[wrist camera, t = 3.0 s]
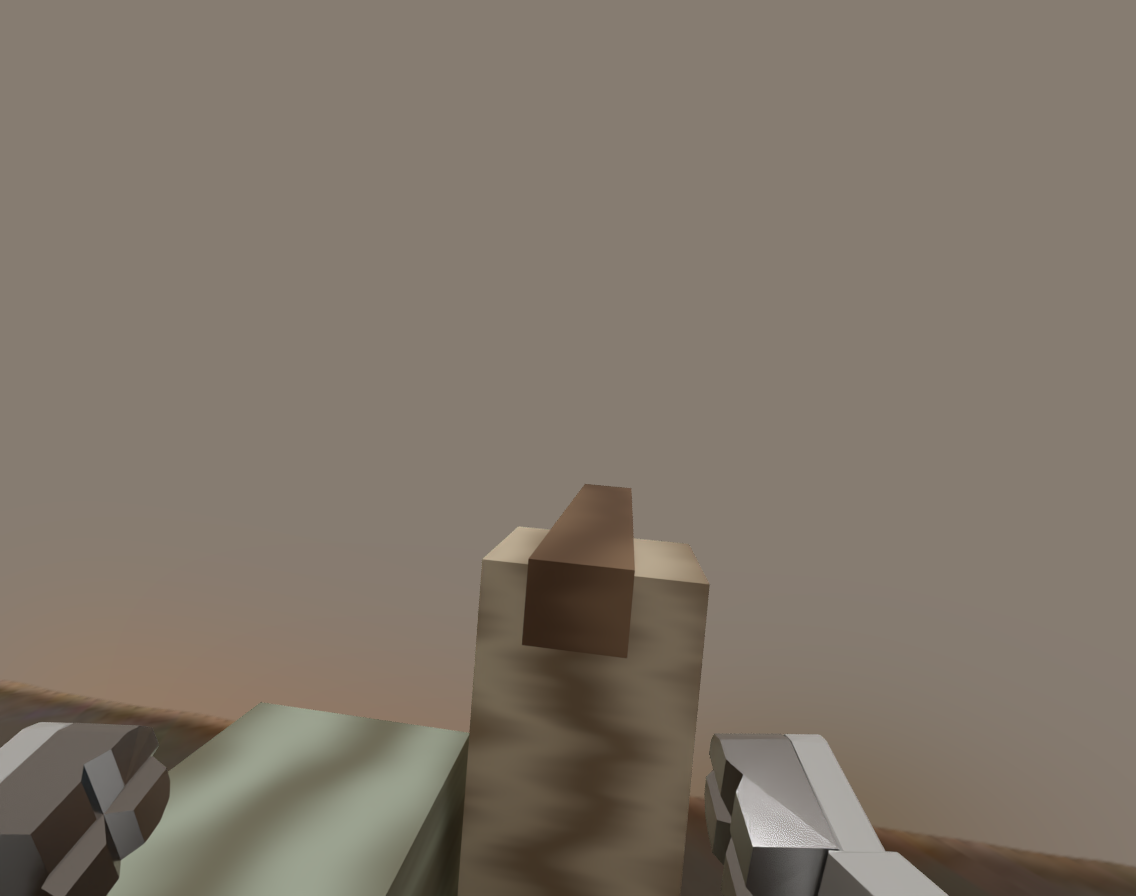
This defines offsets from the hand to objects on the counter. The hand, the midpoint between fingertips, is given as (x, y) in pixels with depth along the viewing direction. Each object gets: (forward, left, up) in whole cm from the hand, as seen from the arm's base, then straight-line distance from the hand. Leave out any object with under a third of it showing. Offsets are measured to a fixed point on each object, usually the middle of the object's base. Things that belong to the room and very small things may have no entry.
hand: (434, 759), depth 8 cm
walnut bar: (+1, +17, -1) cm, 18 cm away
